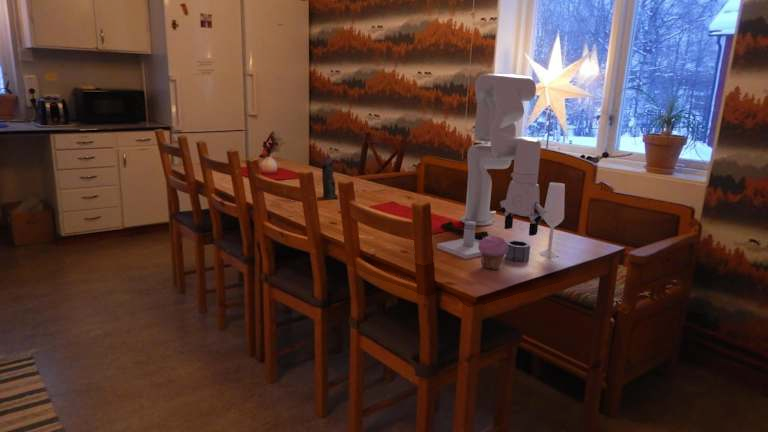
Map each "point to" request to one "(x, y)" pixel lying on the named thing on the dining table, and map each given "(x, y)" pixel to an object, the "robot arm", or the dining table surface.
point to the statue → (328, 179)
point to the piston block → (463, 243)
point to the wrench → (461, 231)
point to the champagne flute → (553, 213)
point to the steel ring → (518, 251)
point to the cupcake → (492, 251)
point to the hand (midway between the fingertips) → (520, 231)
